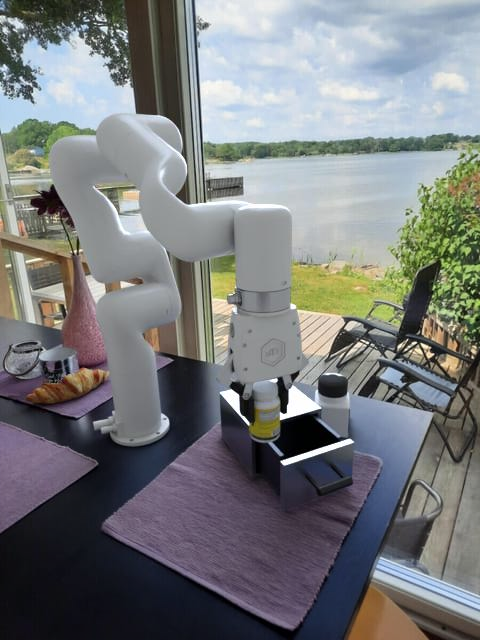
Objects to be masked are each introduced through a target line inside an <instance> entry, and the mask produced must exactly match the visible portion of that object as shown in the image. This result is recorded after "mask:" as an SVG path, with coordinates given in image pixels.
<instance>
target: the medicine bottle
mask: <svg viewBox="0 0 480 640" xmlns="http://www.w3.org/2000/svg"><path fill="white" fill-rule="evenodd" d="M348 389H349V380H348V378H347V377H346V376H344V375H343V374H341V373H336V372H326V373H322V374H321V375H320V376H318V378H317V389H315V391H314V392H315V393H314V403H316V404H317V405H318V406H320V407H321V408H322V415H321V420H322V421H323V422H324V423H326V424H327V425H328V426H329V427H330V428H332V429H333V430H334V431H335V432H336V433H338V434H339V435H340V436H341V437H342V438H345V439H347V438H348V439H349V436H350V420H351V418H350V417H351V399H350V398H351V397H350V392H349V390H348Z"/></svg>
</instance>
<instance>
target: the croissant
mask: <svg viewBox="0 0 480 640" xmlns="http://www.w3.org/2000/svg"><path fill="white" fill-rule="evenodd" d="M77 370H78V374H75V373H72V374H68V375H67V376H65V377H63V379H62V380H61V381H62V382H60V383H58V382H57V383H50V382H49V383H47V382H44V381H43V382H42V383H41V386H40V387H36V388H35V389H34V390H32V391H31V392H30V394H27V395H25V398H26V400H27V401H28V402H29V403H32V404H33V403H37V404H41V403H42V404H46V405H47V404H48V405H49V404H55V403H61V402H66V401H71V400H72V399H75V398H79V397H82V396H84V395H85V394H88V392H90V391H91V390H93V389H95V388H97V387H98V386H99V385H101V384H102V383H104V382H105V381H107V380H108V379H109V378H110V374H109V370H102V369H99V368H96V369H94V370H93V369H88V368H85V367H84V366H83V367H81V368H79V369H77Z"/></svg>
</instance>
